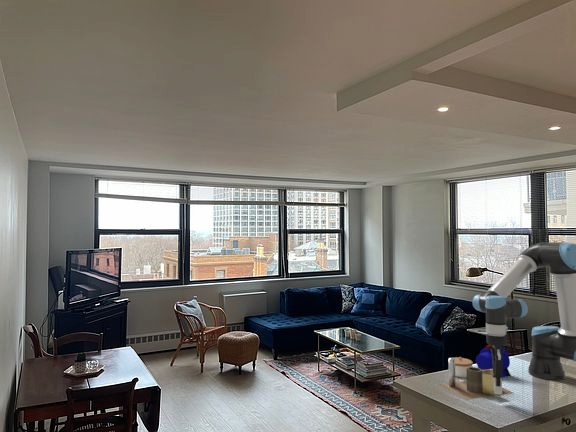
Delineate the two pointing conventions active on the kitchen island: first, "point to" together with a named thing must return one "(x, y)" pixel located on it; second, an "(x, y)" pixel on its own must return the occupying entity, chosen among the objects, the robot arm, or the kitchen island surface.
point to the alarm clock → (486, 360)
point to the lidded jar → (462, 366)
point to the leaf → (488, 384)
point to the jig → (473, 384)
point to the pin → (452, 372)
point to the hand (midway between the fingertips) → (498, 393)
